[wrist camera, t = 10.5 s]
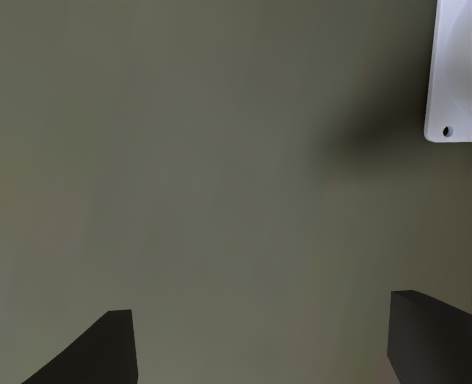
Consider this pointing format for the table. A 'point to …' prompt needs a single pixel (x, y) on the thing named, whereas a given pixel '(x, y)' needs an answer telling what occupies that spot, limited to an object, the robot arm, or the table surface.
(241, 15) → the table surface
